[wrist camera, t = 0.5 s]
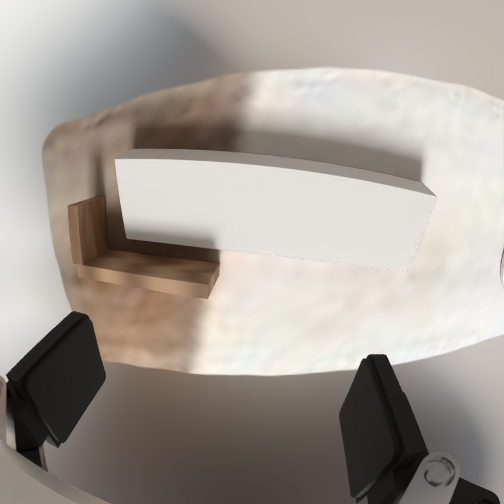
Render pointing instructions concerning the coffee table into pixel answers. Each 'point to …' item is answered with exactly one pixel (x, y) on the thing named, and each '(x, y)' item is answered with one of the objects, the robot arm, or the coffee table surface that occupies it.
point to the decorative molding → (272, 206)
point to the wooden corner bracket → (131, 258)
